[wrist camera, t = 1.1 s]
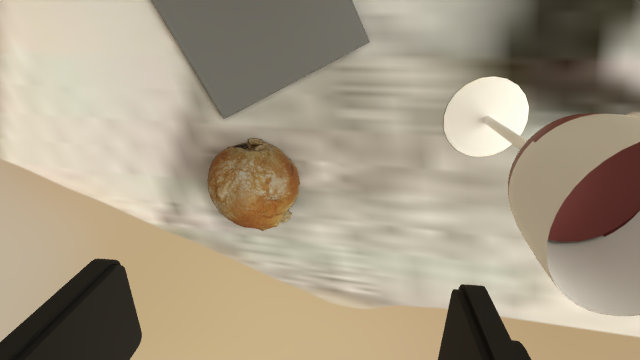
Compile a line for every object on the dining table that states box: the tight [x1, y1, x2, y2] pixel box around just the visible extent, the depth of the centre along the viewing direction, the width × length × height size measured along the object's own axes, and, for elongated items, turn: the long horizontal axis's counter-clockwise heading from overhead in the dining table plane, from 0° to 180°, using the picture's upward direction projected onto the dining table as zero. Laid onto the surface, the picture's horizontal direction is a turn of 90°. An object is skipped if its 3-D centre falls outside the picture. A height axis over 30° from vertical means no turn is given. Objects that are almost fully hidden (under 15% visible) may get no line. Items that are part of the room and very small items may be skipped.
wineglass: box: [444, 76, 640, 316], centre depth 26 cm, size 9×10×22 cm
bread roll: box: [208, 138, 300, 231], centre depth 39 cm, size 10×10×8 cm
